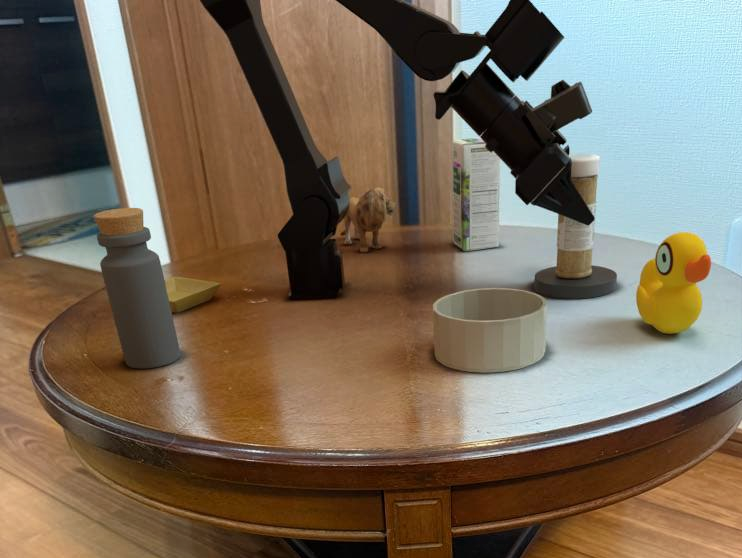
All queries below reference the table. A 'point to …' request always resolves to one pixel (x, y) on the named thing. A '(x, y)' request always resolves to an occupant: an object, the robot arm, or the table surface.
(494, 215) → the syrup box
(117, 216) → the bottle
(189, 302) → the yellow shallow tray
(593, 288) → the stand
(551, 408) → the table surface
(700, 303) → the duckling
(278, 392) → the table surface
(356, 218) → the lion figurine
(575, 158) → the sprinkles bottle
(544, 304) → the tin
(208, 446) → the table surface
